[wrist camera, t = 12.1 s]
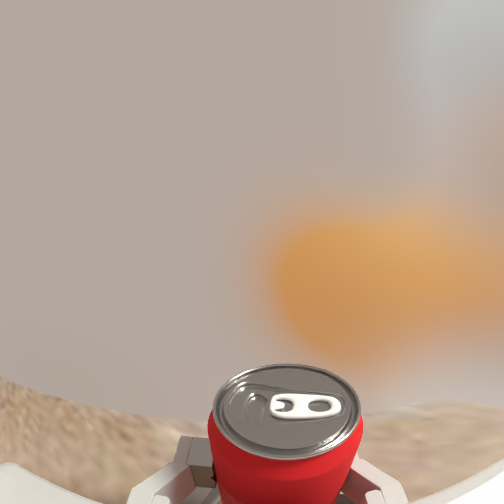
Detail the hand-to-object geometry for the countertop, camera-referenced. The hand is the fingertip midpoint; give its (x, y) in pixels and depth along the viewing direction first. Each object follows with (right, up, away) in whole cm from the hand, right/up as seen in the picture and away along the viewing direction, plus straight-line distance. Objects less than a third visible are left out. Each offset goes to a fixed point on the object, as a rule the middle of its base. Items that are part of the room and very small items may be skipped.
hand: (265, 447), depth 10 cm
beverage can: (+1, -8, +1) cm, 9 cm away
